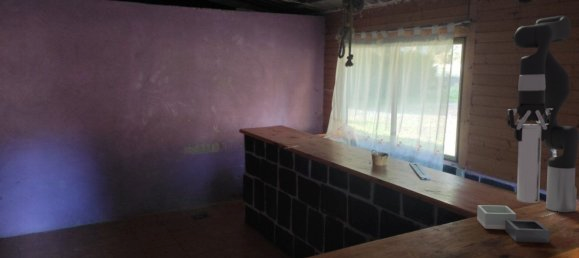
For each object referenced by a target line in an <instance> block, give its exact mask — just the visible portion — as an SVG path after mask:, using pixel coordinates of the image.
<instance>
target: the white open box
mask: <svg viewBox="0 0 579 258" xmlns="http://www.w3.org/2000/svg"><path fill="white" fill-rule="evenodd" d="M476 210H477V212H476V213H477V214H476V220H477V221H478V222H479V223H480V225H481V226H483V228H484V229H487V230H489V229H490V230H492V229H493V230H505V224H506V220H517V213H516V212H515V211H514V210H512V209H511V208H510V207H509V206H507V205H495V204H494V205H492V204H491V205H489V204H488V205H486V204H485V205H484V204H483V205H482V204H478V205H477V209H476Z"/></svg>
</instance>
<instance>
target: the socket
mask: <svg viewBox="0 0 579 258" xmlns="http://www.w3.org/2000/svg"><path fill="white" fill-rule="evenodd" d="M504 230H505V233H506V234H508V235H509V236H510V238H511V239H512V240H514V242H516V243H544V244H549V243H550V234H551V232H550V231H551V230H550V229H548V227H546V226H545V225H544V224H542V222H540V221H538V220H533V219H531V220H529V219H528V220H527V219H526V220H524V219H516V220H506V224H505V229H504Z"/></svg>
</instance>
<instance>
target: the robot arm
mask: <svg viewBox="0 0 579 258" xmlns="http://www.w3.org/2000/svg"><path fill="white" fill-rule="evenodd" d="M571 33H572V22H571V20H570V18H569V17H568V16H566V15H557V16H551V17H550V16H549V17H544V18H543V17H542V18H539V19H537V20H536V22H535V24H533V25H524V26H523V25H521V26H520V27H518V28H517V29H516V31H515V33H514V35H513V41H514V44H515V46H517V48H519V49H536V48H537V51H535V53H533V54H530V55H526V56H523V57H521V58H520V61H519V78H518V87H517V88H518V89H517V91H518V92H517V106H516V108H509V109H507V110H506V115H507V118H506V119H507V127H509V128H511V129H513V130H514V133H513V134H514V136H513V138H514V139H515V141H516V142H519V141H521V130H520V128H521V127H522V125H523V124H526V122H531V121H534V122H536V124H538V125H541V128H542V141H541V142H544V144H545V146H546V147H547V148H550V149H557V150H562V154H561V155H558V156H552V157H549V158H548V160H547V175H546V176H547V178H546V179H547V180H546V196H545V198H546V199H545V200H546V201H545V208H546V209H547V210H549V211H552V212H557V211H558V212H559V213H572V212H576V211H577V210H576V209H577V192H578V191H577V187H576V186H575V184H576V183H575V182H576V164H577V159H578V150H579V130H578V128H577V127H575V126H572V125H560V124H559V125H558V116H559V112H560V110H561V109H562V107H563V106H564V104H565V103H566V101H567V99H568V97H569V96H570V94H571V84H570V76H569V74H568V72H567V70H566V69H565V68H564V67H563V65H561V64H560V63H559V61H558V60H557V59H556V58H555V57H554V55H553V54H552V52H551V49H550V46H551V44H552V43H557V42H565V41H566V40H568V39H569V38H570V37H571ZM516 114H518V118H517V119H516V122H515V116H516Z"/></svg>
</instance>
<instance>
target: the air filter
mask: <svg viewBox="0 0 579 258" xmlns="http://www.w3.org/2000/svg"><path fill="white" fill-rule="evenodd" d="M520 130H521V141H518V149H517V150H518V153H517V155H518V156H517V179H516V180H517V184H516V200H517V201H519V202H523V203H529V204H530V203H531V204H533V203H534V204H537V203H539V202H540V191H541V190H540V188H541V166H542V163H541V162H542V161H541V160H542V142H543V141H542V128H541V125H538V123H536V124H535V123H524V124H523V125H522V127H521V128H520Z"/></svg>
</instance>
